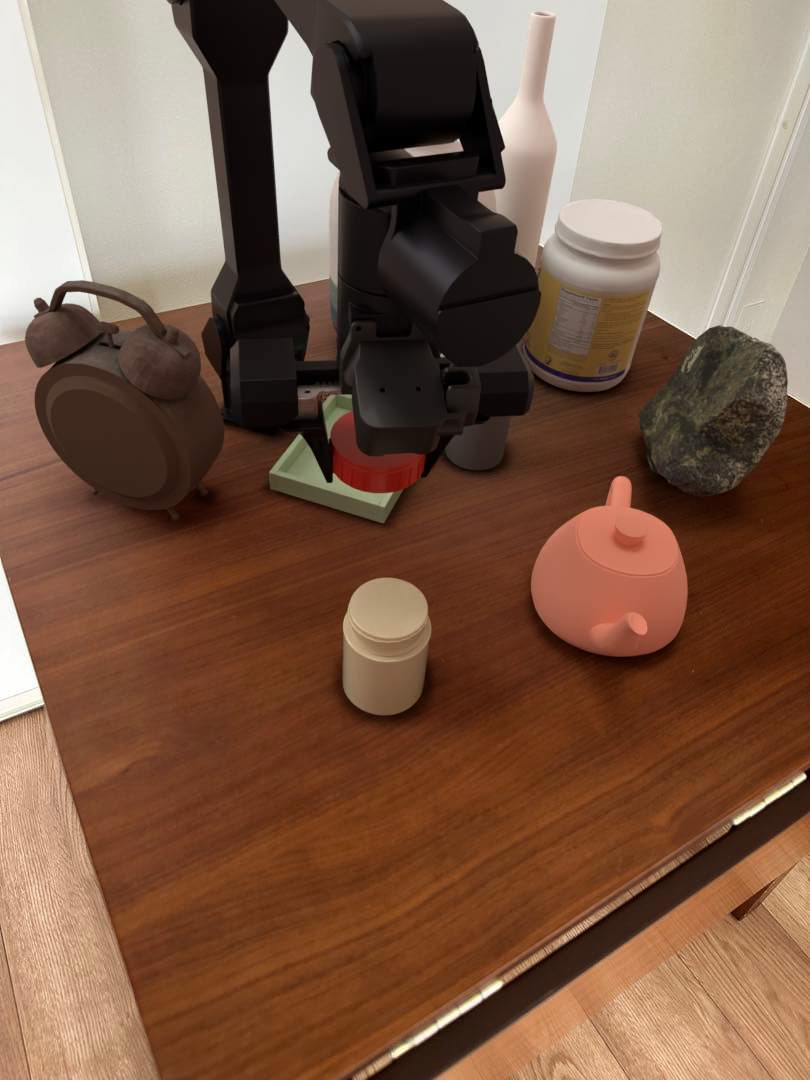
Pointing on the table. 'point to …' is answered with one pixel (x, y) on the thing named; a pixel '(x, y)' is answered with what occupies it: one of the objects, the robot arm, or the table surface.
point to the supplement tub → (593, 294)
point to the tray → (306, 479)
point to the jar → (385, 646)
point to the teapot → (612, 579)
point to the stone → (716, 412)
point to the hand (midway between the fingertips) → (375, 476)
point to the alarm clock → (123, 400)
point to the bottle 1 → (480, 444)
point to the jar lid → (370, 462)
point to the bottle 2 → (529, 142)
